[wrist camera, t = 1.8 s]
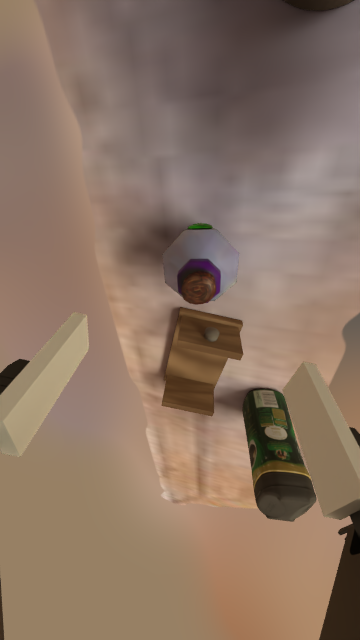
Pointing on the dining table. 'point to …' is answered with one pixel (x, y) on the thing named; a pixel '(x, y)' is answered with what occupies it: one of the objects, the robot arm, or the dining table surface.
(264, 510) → the coffee jar
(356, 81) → the dining table surface
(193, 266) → the potion bottle
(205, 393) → the holder
